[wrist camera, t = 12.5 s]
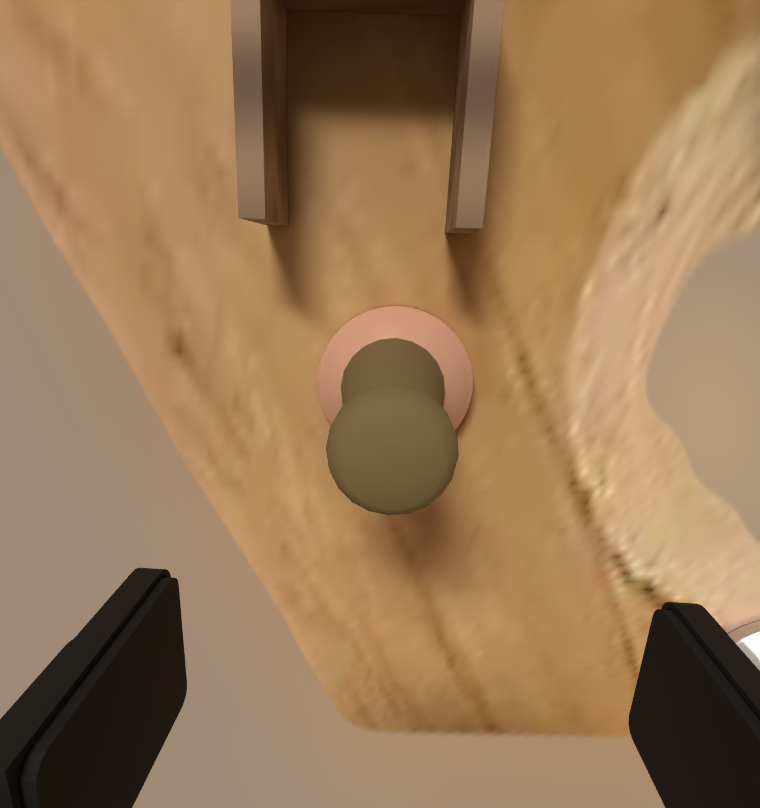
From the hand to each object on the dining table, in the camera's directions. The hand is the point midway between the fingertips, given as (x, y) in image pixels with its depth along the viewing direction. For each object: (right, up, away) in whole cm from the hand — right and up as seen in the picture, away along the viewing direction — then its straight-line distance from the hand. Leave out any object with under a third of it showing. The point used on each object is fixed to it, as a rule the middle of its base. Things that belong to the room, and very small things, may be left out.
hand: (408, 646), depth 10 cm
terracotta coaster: (0, +6, +20) cm, 21 cm away
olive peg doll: (0, +6, +19) cm, 20 cm away
